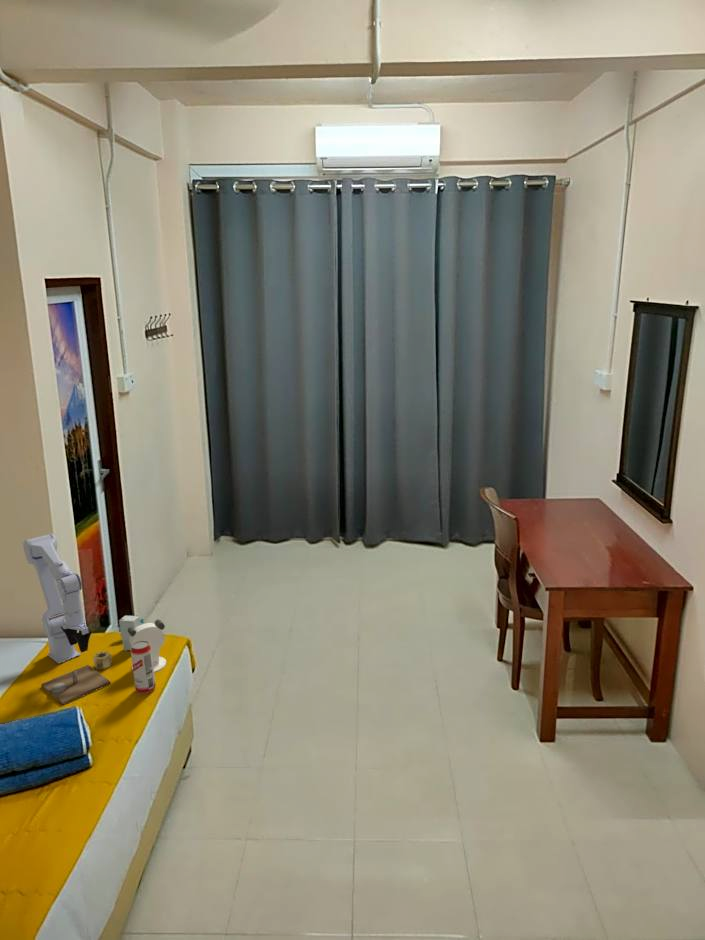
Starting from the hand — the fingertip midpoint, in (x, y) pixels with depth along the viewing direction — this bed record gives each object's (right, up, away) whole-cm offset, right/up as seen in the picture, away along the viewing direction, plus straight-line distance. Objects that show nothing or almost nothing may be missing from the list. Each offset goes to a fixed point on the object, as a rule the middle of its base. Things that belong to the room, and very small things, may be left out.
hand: (78, 647), depth 233 cm
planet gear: (+6, -8, +7) cm, 12 cm away
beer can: (+25, -11, -9) cm, 29 cm away
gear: (+11, -3, +27) cm, 29 cm away
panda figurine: (+22, -8, +6) cm, 24 cm away
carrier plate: (+1, -11, -5) cm, 12 cm away
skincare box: (+13, -5, +18) cm, 22 cm away
